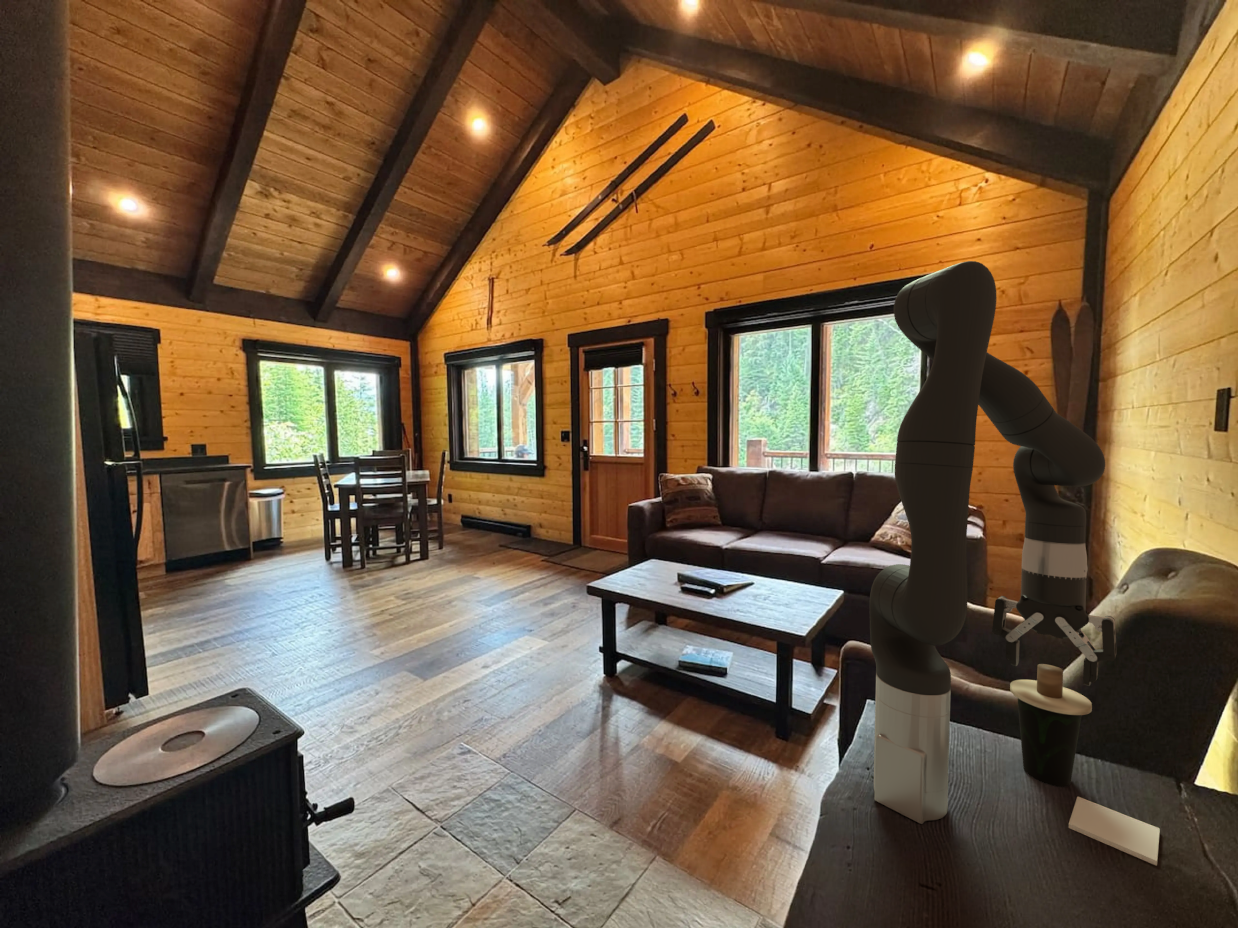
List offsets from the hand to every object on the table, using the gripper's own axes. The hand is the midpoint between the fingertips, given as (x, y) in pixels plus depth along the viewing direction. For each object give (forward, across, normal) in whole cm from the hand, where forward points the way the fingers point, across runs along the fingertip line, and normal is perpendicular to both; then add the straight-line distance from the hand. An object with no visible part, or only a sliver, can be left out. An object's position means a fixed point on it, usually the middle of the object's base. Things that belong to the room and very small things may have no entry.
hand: (1049, 673), depth 77 cm
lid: (+4, 0, 0) cm, 4 cm away
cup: (+16, 0, 0) cm, 16 cm away
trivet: (+16, +8, -8) cm, 20 cm away
